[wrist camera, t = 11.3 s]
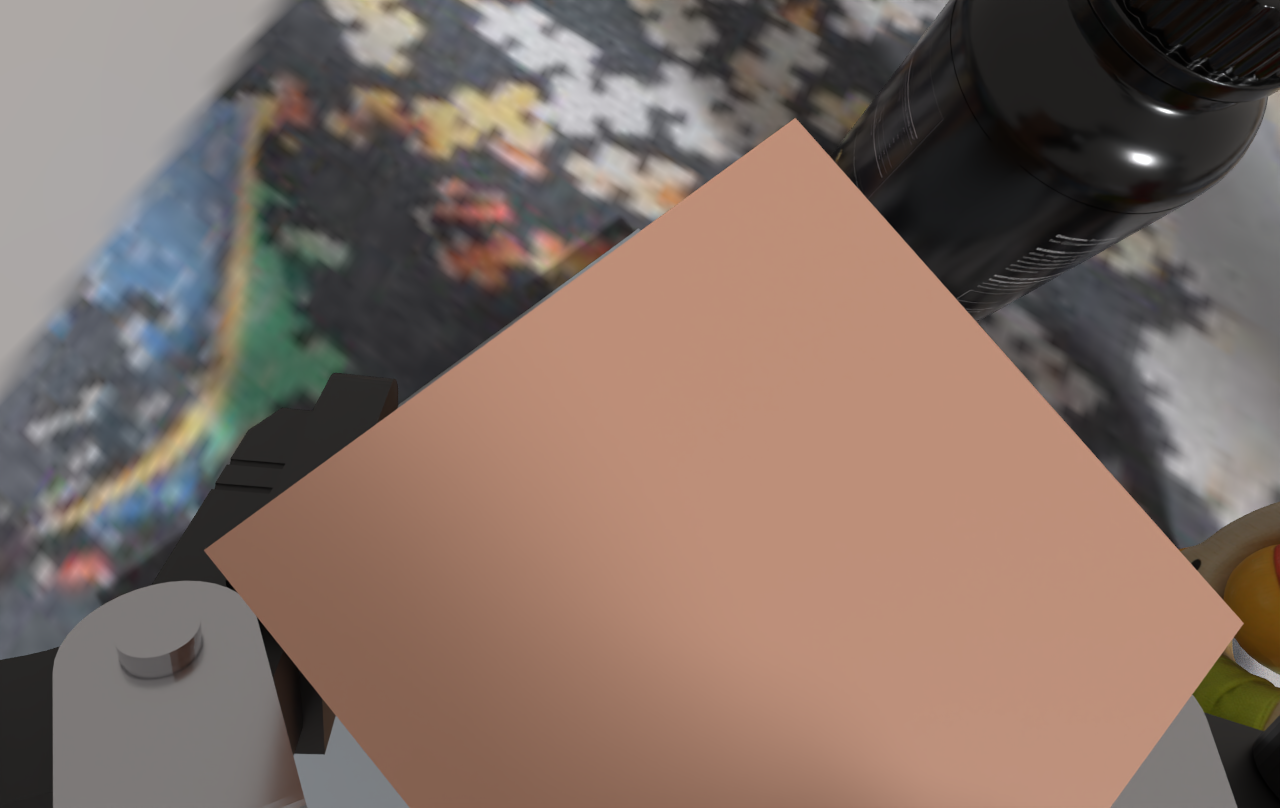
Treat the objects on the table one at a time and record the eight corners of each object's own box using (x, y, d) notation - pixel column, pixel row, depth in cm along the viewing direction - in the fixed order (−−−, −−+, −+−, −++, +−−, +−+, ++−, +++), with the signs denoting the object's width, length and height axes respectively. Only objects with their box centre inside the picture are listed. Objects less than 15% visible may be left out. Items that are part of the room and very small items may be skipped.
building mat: (635, 236, 22) (638, 228, 21) (913, 557, 21) (922, 556, 21) (111, 621, 17) (100, 623, 17) (449, 1049, 16) (449, 1062, 16)
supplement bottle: (1017, 182, 25) (1468, -160, 13) (984, 369, 23) (1477, 157, 12) (827, 105, 24) (1134, -326, 13) (777, 293, 22) (1087, -16, 11)
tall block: (596, 420, 15) (794, 117, 5) (747, 598, 15) (1242, 621, 5) (405, 575, 13) (205, 551, 4) (567, 774, 13) (776, 1268, 4)
